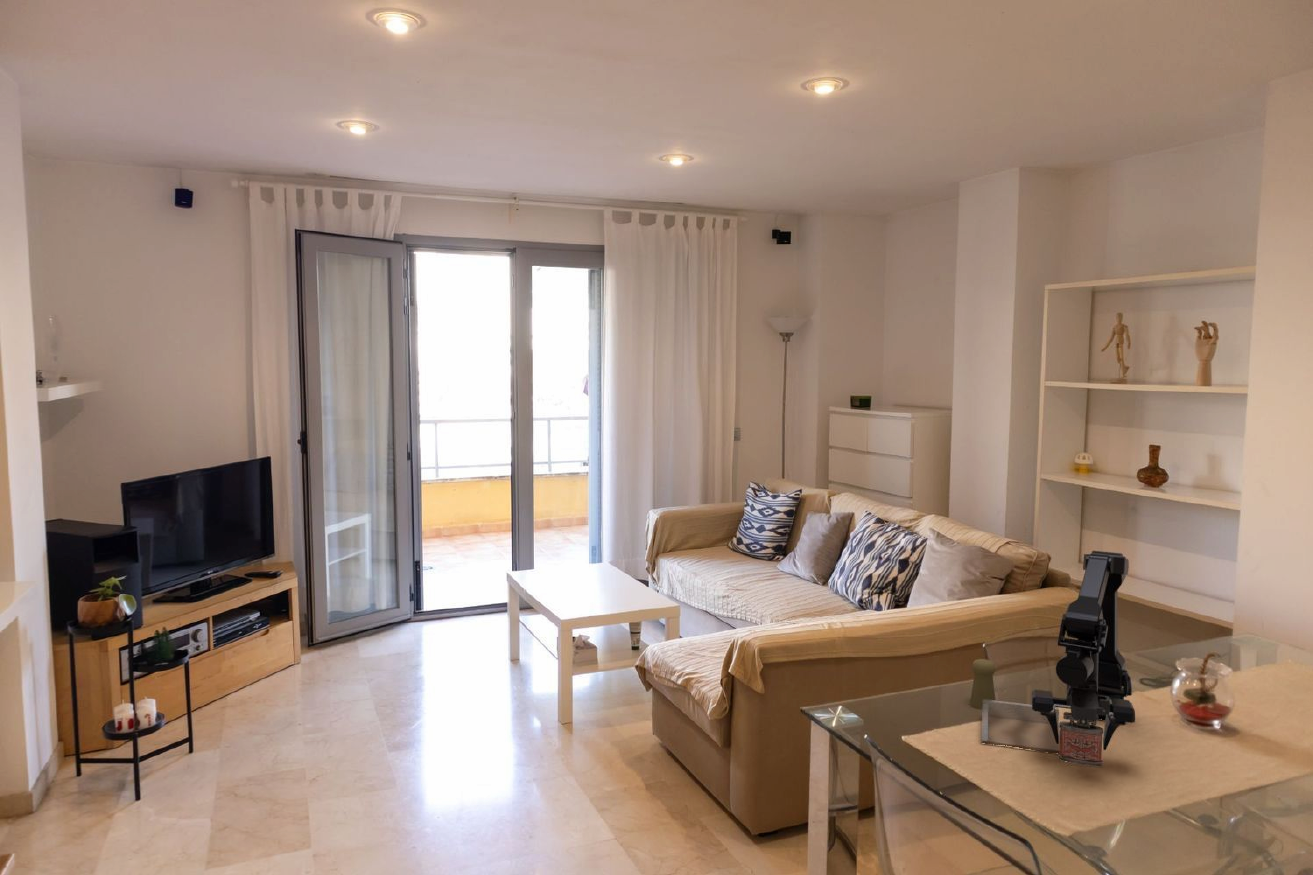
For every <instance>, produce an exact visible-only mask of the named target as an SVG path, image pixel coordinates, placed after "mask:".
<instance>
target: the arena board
mask: <svg viewBox="0 0 1313 875" xmlns="http://www.w3.org/2000/svg"><path fill="white" fill-rule="evenodd" d="M1057 727H1058V735H1059V744H1056V741H1055V737H1054V734H1053V731H1052V728H1051V725H1050V724H1046V723H1038V722H1030V721H1022V720H1014V719H1006V718H998V717H990V716H988V741H982V740H981V744H982V743H985V744H992V745H993V744H994V745H1005V746H1006V745H1007V746H1012V747H1019V748H1023V749H1031V750H1035V751H1034V752H1036V751H1039V752H1038V753H1044V752H1048V753H1047V754H1051V753H1058V754H1059V753H1060V727H1059V725H1057ZM985 744H984V745H985ZM992 745H991V746H992ZM1058 754H1057V755H1058Z"/></svg>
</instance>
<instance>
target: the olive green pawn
mask: <svg viewBox="0 0 1313 875" xmlns="http://www.w3.org/2000/svg"><path fill="white" fill-rule="evenodd" d="M995 665H996V664H995V663H994V662H993V661H991V660H990V659H984V658H977V659H975V660H974V661H973V662H972V664H971V666H972V672H973V673H974V676H973V681H972V682H973V683H972V688H971V693H970V701H969V705H970V706H971V707H973V708H974V709H979V710H983V699H987V700H995V701H997V700H996V691H995V684H994V677H993V675H994V674H995V673H996V666H995Z"/></svg>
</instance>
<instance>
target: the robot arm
mask: <svg viewBox="0 0 1313 875" xmlns="http://www.w3.org/2000/svg"><path fill="white" fill-rule="evenodd" d="M1129 568H1130V561H1129V559H1128V558H1126V557H1125V556H1124V553H1122V552H1111V551H1110V552H1109V551H1101V550H1092V551H1091V552H1090V553H1083V562H1082V570H1083V571H1084V574H1083V579H1082V581H1081V586H1080V589H1079V592H1078V595H1077V599H1076V600H1074V601H1072V602H1070V603H1069V604H1068V605H1067V606H1068V607H1067V609H1066V612H1065V613H1063V614H1062V616H1061V623H1060V628H1059V633H1058V639H1057V646H1058V647H1064V648H1065V652H1064V654H1063V656H1062V657H1060V659H1059V660H1058V661H1057V664H1056V665H1055V673H1056V675H1057V677H1058V679H1059V680H1060V681H1061V682H1062V683H1063V684H1065V685H1066V689H1065V690H1066V692H1065V694H1066V696H1065V698H1063V697H1056V696H1055V697H1054V695H1053V691H1049V690H1040V689H1033V691H1032V692H1031V695H1030V696H1031V697H1030V698H1031V699H1030V702H1031V705H1032V710H1034V711H1038V712H1040V714H1041V715H1043V716H1046V717H1047V719H1048V721H1049V723H1050V725H1051V728H1052V731H1053V734H1054V737H1055V741H1056V744H1059V735H1058V727H1057V719H1056V712H1055V708H1059V709H1060V708H1062V709H1070V713H1071V716H1072V717H1073V718H1074V719H1078V720H1080V719H1085V720H1090V721H1099V720H1098V719H1102V720H1101V721H1103V720H1105V721H1104V728H1103V734H1102V751H1106V750H1107V749H1108V746H1109V743H1110V742H1111V739H1112V737H1113V735H1114V733H1115V731H1116V730H1117V728H1119V727H1120V726H1126V724H1127V723H1131V724H1133V723H1136V710H1135V707H1134V705H1133V703H1132V702H1131V701H1130V700H1129V699H1125V698H1127V697H1128V696H1129V697H1130V696H1132V694H1133V685H1132V678H1131V676H1130V675H1129V670H1126V659H1125V658H1124V656H1123V655H1122V654H1121V652H1120V651H1119V649H1118V631H1119V630H1118V620H1119V619H1118V608H1119V606H1118V598H1119V596H1118V593H1119V592H1118V590H1119V589H1120V587H1121V586H1122V585H1123V583H1124V581H1125V579H1126V576H1127V575H1128V574H1129Z"/></svg>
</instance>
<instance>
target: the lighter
mask: <svg viewBox="0 0 1313 875" xmlns="http://www.w3.org/2000/svg"><path fill="white" fill-rule="evenodd" d="M1062 715H1063V719H1064V720H1068V721H1064V720H1063V721H1062V720H1061V721H1059V730H1060V753H1059V755H1058V760H1060V759H1061V760H1063V761H1062V762H1064V761H1067V762H1066V763H1069V762H1070V763H1069V764H1073V763H1074V764H1075V765H1079V766H1087V767H1094V766H1096V767H1095V768H1098V767H1099V768H1100V767H1103V760H1102V757H1103V756H1102V754H1103V753H1102V752H1103V735H1104V728H1103V727H1102V726H1098V725H1097V721H1098V720H1097V721H1090V720H1085V719H1080V720H1078V719H1074V718H1073V717H1072V716H1071V712H1070V711H1069V712H1067V711H1064V712H1063V714H1062ZM1061 760H1060V761H1061Z"/></svg>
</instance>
